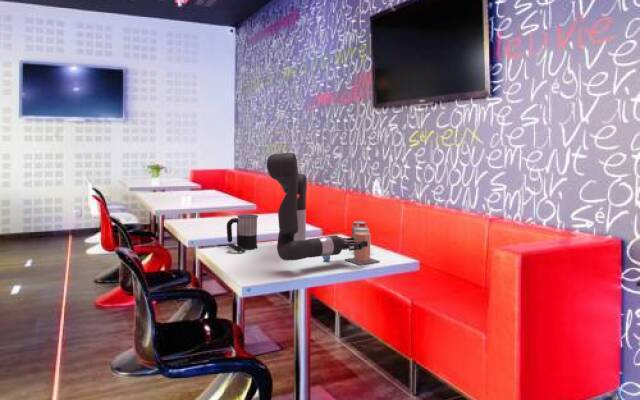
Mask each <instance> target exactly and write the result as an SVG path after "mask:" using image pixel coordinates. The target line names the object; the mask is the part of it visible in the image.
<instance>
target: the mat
mask: <svg viewBox="0 0 640 400" xmlns="http://www.w3.org/2000/svg"><path fill="white" fill-rule="evenodd" d="M344 261H345V262H348V263H351V264H354V265H358V266H360V267H361V266H366V265H371V264H372V265H373V264H378V263H381V261H380V260H378V259H376V258H371V257H370V261H368V262H358V261H355V260H354V257H350V258H349V257H348V258H345V259H344Z"/></svg>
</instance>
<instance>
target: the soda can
mask: <svg viewBox="0 0 640 400" xmlns="http://www.w3.org/2000/svg"><path fill="white" fill-rule="evenodd" d="M352 223H353V224H352V225H351V238H352V237H353V238H354V229H355V228H356V227H366V228H368V225H367V222H366V221H362V220H360V221H358V220H355V221H353V222H352Z"/></svg>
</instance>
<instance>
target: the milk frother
mask: <svg viewBox="0 0 640 400" xmlns="http://www.w3.org/2000/svg"><path fill="white" fill-rule="evenodd" d="M258 217H259V216H258V215H257V214H248V213H247V214H246V213H245V214H243V213H242V214H237V216H236V217H232V218H230V219H229V220H228V221H227V223H226V237H227V238H226V239H227V242H228V243H229V244H228V246H227V247H228V248H230V249H233V250H235V252H238V253H240V252H243V253H245V252H246V250H249V251H250V250H256V249H257V248H258V237H257V236H258V233H257V232H258ZM233 224H236V244H232V243H231V242H233V227H232V225H233ZM255 248H256V249H255Z"/></svg>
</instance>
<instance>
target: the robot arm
mask: <svg viewBox="0 0 640 400" xmlns="http://www.w3.org/2000/svg"><path fill="white" fill-rule="evenodd" d="M298 165H299V164H298V159H297V156H296V154H295V153H294V152H283V153H282V152H281V153H273V154H271V155H269V156H268V158H267V160H266V169H267V172H268V175H269V176H270V178H271V179H273V180H276V181H277V182H278V183H279V185H280V186H281V187H282V190H283V192H284V193H285V194H284V197H283V199H282V201H281V203H280V205H279V208H278V211H277V216H278V217H277V218H278V229H279V231H278V236H277V245H276V248H277V251H276V252H277V254H278V257H279V258H280V259H281V260H283V261H298V260H305V259H307V258H310V259H311V258H318V257H323V256H330V257H331V256H337V255H340V254H341V253H342V251H347V250H348V251H351V252H352V251H354V250H361V249H362V247H367V246H368V242H367V241H361V242H355V241H354V238H353V237H352V236H351V237H342V236H339V235H327V236H325V235H324V236H320V237H316V238H313V237H312V238H307V237H306V233H307V229H306V228H307V227H306V226H307V219H306V218H307V216H306V215H307V204H306V203H307V199H306V198H307V189H308V188H307V186H308V184H307V183H308V181H307V176H306V175H305V174H303V173H299V167H298ZM306 238H307V239H306Z"/></svg>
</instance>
